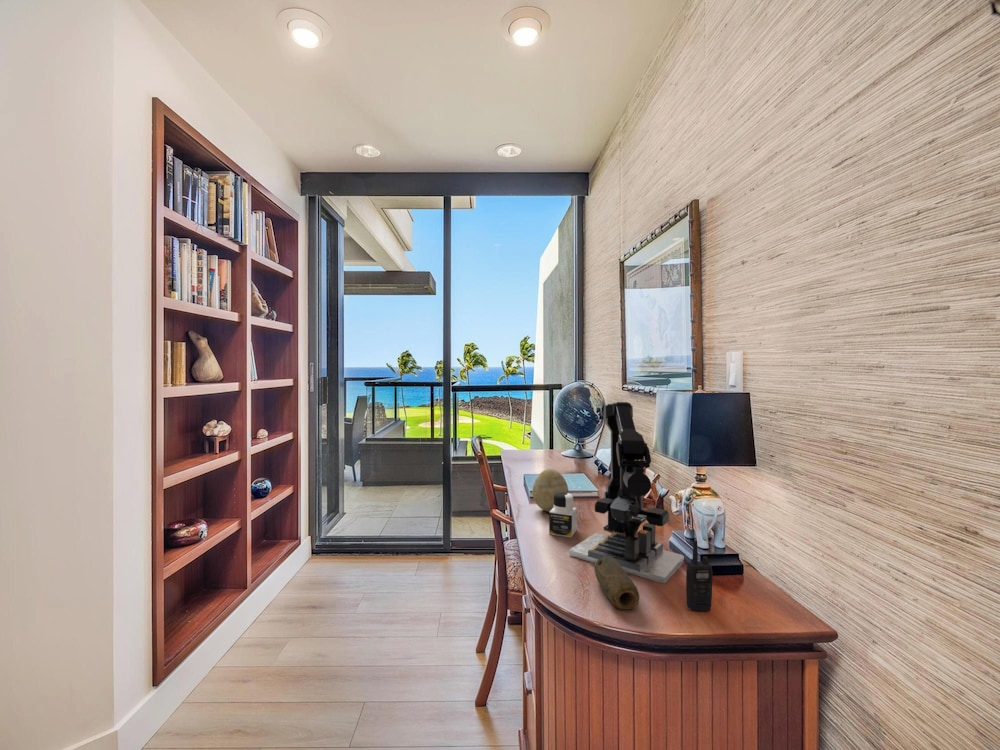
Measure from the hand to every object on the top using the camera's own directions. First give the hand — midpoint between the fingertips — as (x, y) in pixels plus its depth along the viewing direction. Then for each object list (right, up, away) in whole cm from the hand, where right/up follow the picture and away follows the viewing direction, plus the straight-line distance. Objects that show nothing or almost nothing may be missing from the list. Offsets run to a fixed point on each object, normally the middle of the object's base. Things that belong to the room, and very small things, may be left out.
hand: (630, 542), depth 124 cm
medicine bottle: (-15, -4, +20) cm, 25 cm away
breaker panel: (-1, -4, +1) cm, 5 cm away
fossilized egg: (-17, -3, +40) cm, 44 cm away
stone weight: (-9, -5, -19) cm, 22 cm away
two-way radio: (+8, -6, -24) cm, 26 cm away
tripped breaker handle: (+3, -1, -2) cm, 4 cm away
